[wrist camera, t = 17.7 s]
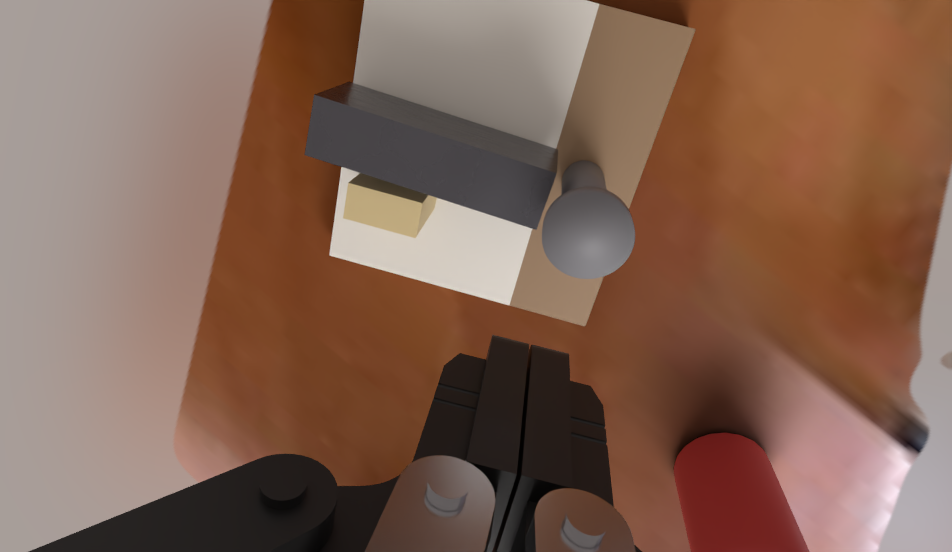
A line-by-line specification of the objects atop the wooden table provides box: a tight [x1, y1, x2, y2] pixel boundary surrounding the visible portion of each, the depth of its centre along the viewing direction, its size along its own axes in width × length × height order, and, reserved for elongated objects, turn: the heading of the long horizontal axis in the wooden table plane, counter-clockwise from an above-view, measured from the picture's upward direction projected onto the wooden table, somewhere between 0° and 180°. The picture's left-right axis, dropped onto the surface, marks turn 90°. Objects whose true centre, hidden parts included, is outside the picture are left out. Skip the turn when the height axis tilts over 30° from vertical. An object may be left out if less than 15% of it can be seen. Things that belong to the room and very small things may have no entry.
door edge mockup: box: [329, 0, 696, 326], centre depth 31 cm, size 18×17×11 cm
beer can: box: [674, 433, 809, 552], centre depth 38 cm, size 7×7×12 cm
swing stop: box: [305, 82, 558, 230], centre depth 31 cm, size 12×3×5 cm, turn 74°
